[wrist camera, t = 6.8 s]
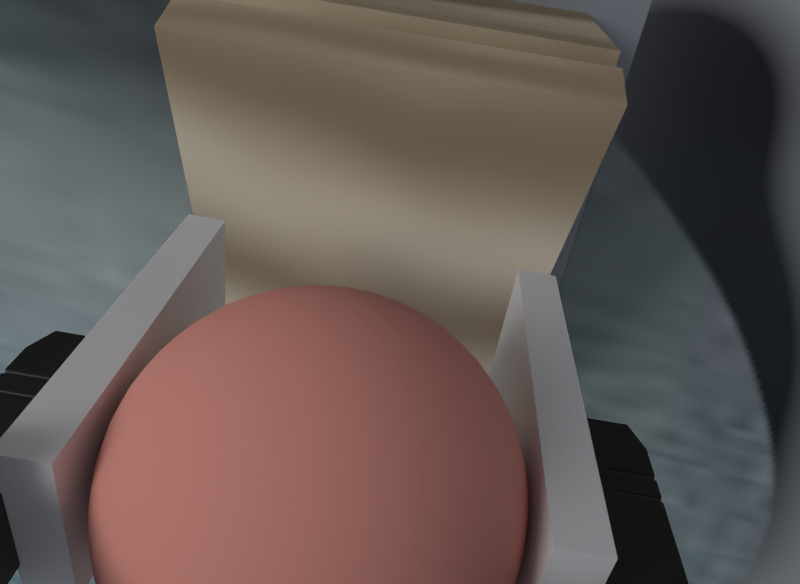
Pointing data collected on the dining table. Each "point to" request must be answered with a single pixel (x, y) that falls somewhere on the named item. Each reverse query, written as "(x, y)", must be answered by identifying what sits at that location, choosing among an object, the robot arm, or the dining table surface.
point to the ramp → (391, 143)
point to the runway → (623, 23)
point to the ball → (310, 453)
